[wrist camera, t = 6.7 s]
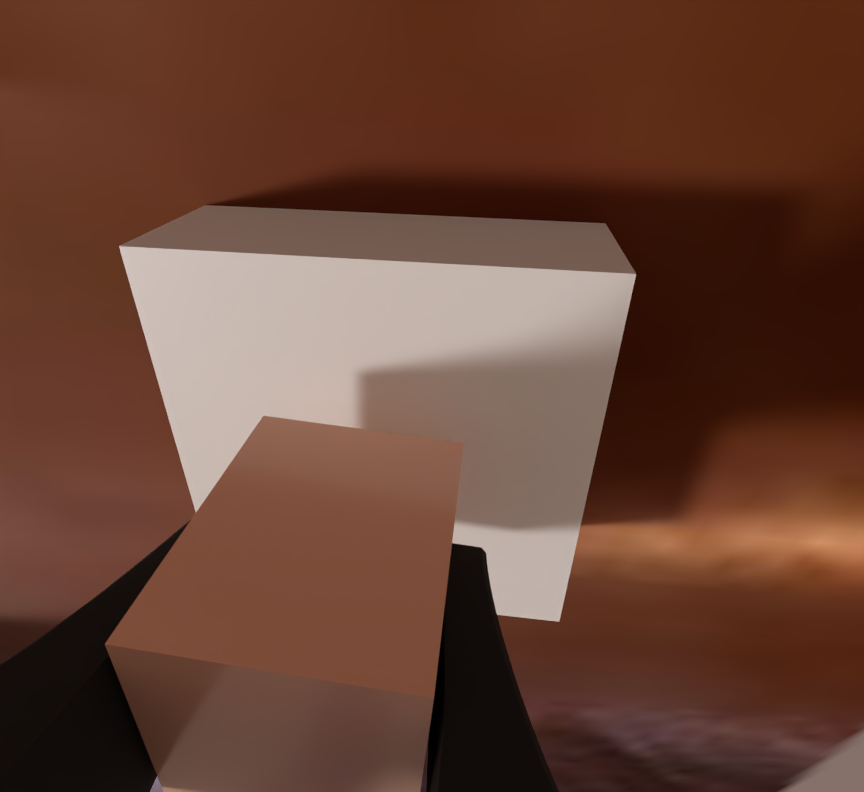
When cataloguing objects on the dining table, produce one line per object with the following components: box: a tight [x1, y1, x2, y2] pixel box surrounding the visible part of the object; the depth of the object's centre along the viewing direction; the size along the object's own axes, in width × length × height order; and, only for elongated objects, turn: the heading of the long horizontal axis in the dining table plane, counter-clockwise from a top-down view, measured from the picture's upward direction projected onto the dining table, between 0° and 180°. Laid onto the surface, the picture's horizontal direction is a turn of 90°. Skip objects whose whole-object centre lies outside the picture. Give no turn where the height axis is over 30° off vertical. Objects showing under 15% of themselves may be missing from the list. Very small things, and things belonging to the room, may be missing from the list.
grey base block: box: [119, 205, 636, 622], centre depth 15 cm, size 10×10×4 cm
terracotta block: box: [105, 416, 464, 792], centre depth 10 cm, size 4×4×5 cm
